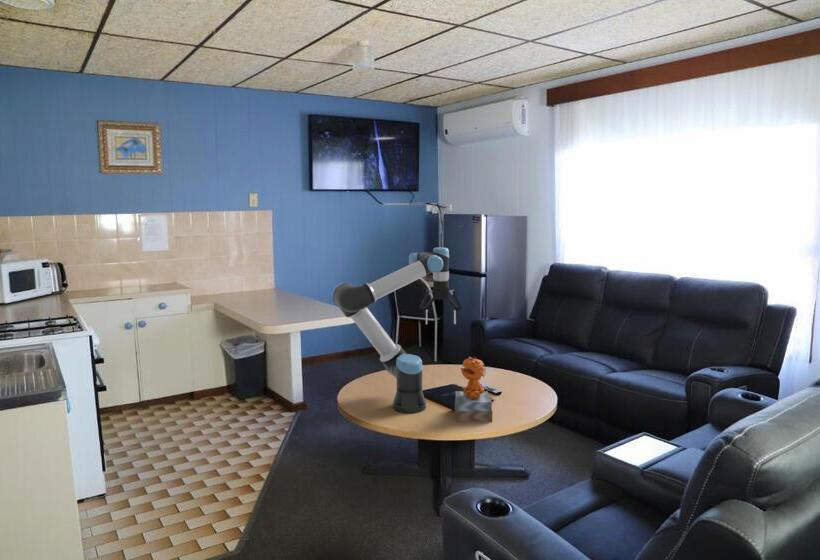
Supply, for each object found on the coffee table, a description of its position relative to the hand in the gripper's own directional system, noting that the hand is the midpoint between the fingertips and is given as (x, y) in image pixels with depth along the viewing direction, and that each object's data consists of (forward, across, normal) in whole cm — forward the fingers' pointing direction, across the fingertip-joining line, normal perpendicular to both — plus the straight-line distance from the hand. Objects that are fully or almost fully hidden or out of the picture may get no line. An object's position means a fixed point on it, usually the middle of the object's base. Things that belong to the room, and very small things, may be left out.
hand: (440, 323), depth 285 cm
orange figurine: (+26, -13, +30) cm, 42 cm away
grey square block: (+35, -13, +30) cm, 48 cm away
